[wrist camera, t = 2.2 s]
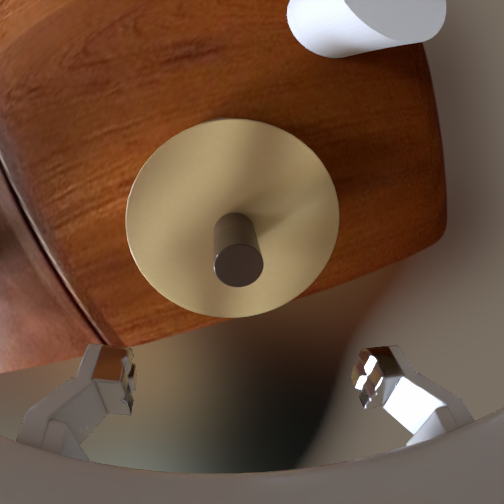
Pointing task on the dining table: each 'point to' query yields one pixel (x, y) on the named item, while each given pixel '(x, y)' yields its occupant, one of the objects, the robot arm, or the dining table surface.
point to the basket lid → (232, 218)
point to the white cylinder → (363, 24)
